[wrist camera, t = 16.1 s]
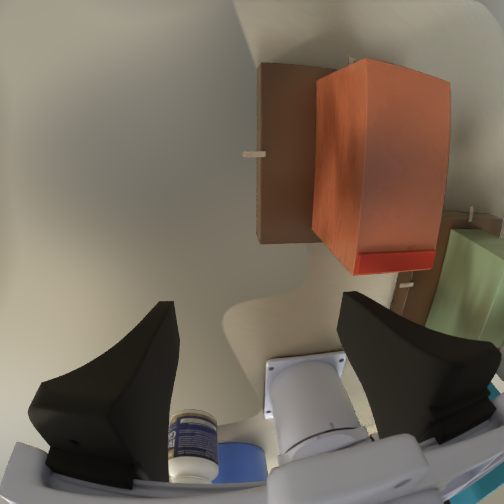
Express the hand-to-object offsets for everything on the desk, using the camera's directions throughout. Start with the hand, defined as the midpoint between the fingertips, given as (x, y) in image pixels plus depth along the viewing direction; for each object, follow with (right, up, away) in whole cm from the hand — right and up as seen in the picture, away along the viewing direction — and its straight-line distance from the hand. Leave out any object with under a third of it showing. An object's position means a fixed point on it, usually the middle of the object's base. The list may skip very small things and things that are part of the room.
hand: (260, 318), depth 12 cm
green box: (+19, 0, +11) cm, 22 cm away
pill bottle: (-7, -17, +18) cm, 25 cm away
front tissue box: (+6, +9, +6) cm, 12 cm away
